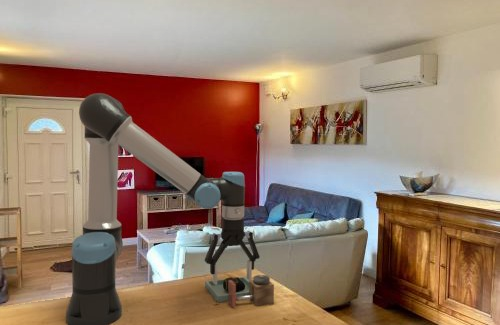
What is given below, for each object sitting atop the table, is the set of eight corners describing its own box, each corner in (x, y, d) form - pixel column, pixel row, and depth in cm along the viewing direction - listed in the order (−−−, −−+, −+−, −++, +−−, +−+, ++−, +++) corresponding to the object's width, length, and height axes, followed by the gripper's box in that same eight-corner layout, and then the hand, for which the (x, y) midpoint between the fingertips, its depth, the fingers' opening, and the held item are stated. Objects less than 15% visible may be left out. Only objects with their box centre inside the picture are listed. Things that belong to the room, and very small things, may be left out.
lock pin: (232, 306, 128) (232, 284, 128) (228, 302, 132) (228, 280, 131) (272, 301, 133) (272, 279, 133) (267, 296, 137) (267, 275, 136)
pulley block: (256, 306, 130) (256, 279, 129) (249, 299, 135) (249, 274, 135) (273, 303, 132) (274, 277, 132) (265, 297, 138) (266, 272, 137)
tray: (217, 303, 132) (217, 296, 132) (204, 287, 146) (204, 281, 146) (261, 297, 138) (261, 290, 137) (244, 282, 151) (244, 276, 151)
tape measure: (245, 293, 139) (246, 282, 139) (226, 295, 137) (226, 284, 137) (239, 286, 146) (239, 275, 145) (220, 288, 143) (220, 277, 143)
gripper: (201, 222, 132) (201, 289, 134) (270, 217, 141) (268, 280, 142) (195, 217, 139) (195, 281, 140) (261, 213, 148) (260, 274, 149)
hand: (232, 281), depth 141 cm, fingers open, 11 cm apart
